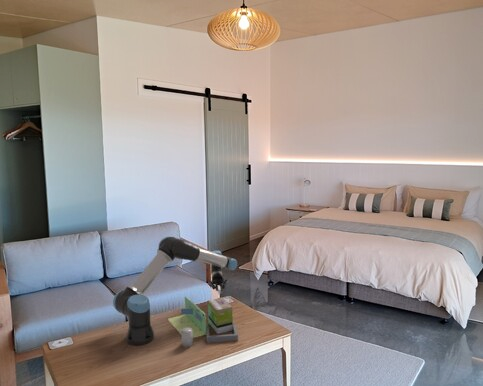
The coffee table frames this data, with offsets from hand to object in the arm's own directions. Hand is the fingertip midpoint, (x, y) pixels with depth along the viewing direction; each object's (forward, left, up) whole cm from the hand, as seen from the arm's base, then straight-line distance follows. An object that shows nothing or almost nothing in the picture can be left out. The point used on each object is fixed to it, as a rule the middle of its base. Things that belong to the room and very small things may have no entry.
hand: (219, 291), depth 243 cm
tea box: (-1, -13, -17) cm, 21 cm away
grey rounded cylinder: (-20, -30, -16) cm, 39 cm away
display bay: (-1, -23, -16) cm, 28 cm away
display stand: (-21, -9, -17) cm, 28 cm away
